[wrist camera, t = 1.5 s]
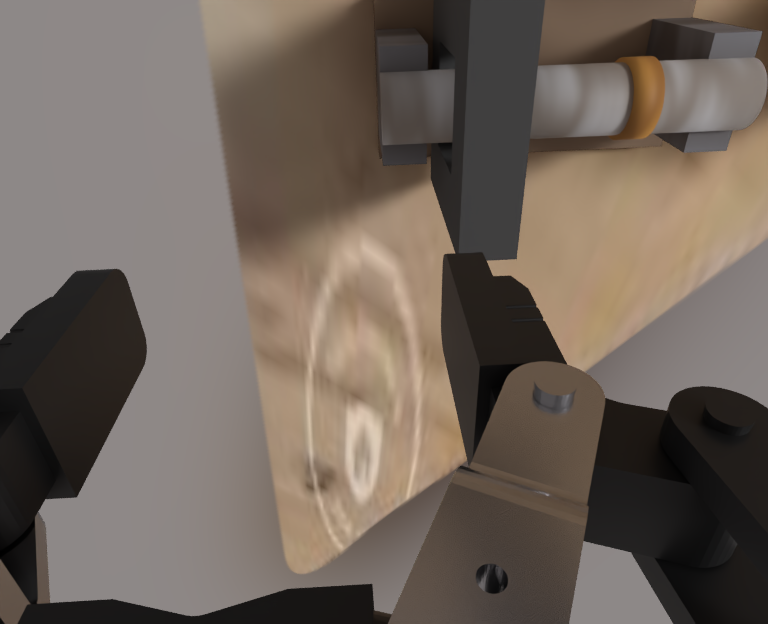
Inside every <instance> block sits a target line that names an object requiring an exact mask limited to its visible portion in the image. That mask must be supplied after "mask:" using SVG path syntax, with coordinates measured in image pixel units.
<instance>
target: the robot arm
mask: <svg viewBox="0 0 768 624" xmlns="http://www.w3.org/2000/svg"><path fill="white" fill-rule="evenodd" d="M441 335H442V346H443V352H444V357H445V361H446V366H447V370H448V375H449V379H450V384H451V388H452V393H453V397H454V402H455V406H456V411H457V415H458V420H459V424H460V429H461V433H462V438H463V443H464V447H465V452H466V456H467V461H468V465H469V468H467V467H464V466H460V467H459V468H458V469H457V470H456V472H455V473H454V475H453V477H452V479H451V482H450V484H449V486H448V488H447V490H446V493H445V495H444V498H443V500H442V502H441V504H440V506H439V509H438V511H437V513H436V515H435V518H434V520H433V522H432V525H431V527H430V529H429V532H428V534H427V536H426V538H425V541H424V543H423V545H422V547H421V550H420V552H419V554H418V556H417V559H416V561H415V563H414V565H413V568H412V570H411V572H410V574H409V577H408V579H407V581H406V584H405V586H404V588H403V591H402V593H401V595H400V597H399V599H398V602H397V604H396V606H395V609H394V611H393V613H392V614H387V613H383V612H379V611H375V610H374V601H373V588H372V584H365V585H364V584H363V585H347V586H331V587H313V588H297V589H286V590H283V591H280V592H277V593H273V594H270V595H267V596H264V597H260V598H257V599H254V600H251V601H247V602H244V603H241V604H238V605H234V606H231V607H228V608H225V609H221V610H218V611H215V612H212V613H208V614H205V615H200V616H185V615H181V614H177V613H172V612H168V611H163V610H159V609H154V608H150V607H145V606H141V605H136V604H131V603H127V602H123V601H118V600H113V599H111V600H93V601H77V602H59V603H50V593H49V576H48V559H47V541H46V527H45V523H44V521H43V519H42V517H41V515H40V514H39V512H38V511H39V509H40V508H41V506H42V504H43V502H44V501H45V499H54V498H74V497H77V496H78V494H79V492H80V490H81V488H82V486H83V484H84V482H85V480H86V478H87V476H88V474H89V472H90V470H91V468H92V467H93V465H94V463H95V461H96V459H97V457H98V455H99V453H100V451H101V449H102V447H103V445H104V443H105V441H106V439H107V437H108V435H109V433H110V431H111V429H112V427H113V425H114V424H115V422H116V420H117V418H118V416H119V414H120V412H121V410H122V408H123V406H124V404H125V402H126V400H127V398H128V396H129V394H130V392H131V390H132V388H133V386H134V384H135V382H136V381H137V379H138V376H139V375H140V373H141V371H142V369H143V367H144V364H145V360H146V353H147V345H146V338H145V334H144V331H143V328H142V325H141V321H140V318H139V315H138V312H137V309H136V306H135V303H134V300H133V297H132V293H131V290H130V287H129V284H128V281H127V279H126V277H125V275H124V273H123V272H122V271H121V270H119V269H106V270H85V271H76V272H75V273H74V274H73V275H72V276H71V277H70V278H69V279H68V280H67V281H66V282H65V284H64V285H63V286H62V287H61V288H60V289H59V290H58V292H57V293H56V294H55V295H54V296H53V297H50V298H48V299H47V300H45V301H43V302H42V303H40V304H39V305H37V306H35V307H34V308H32V309H31V310H29V311H27V312H26V313H25V314H24V315H23V316H22V317H21V318H20V319H19V320H18V322H17V323H16V324H15V325H14V326H13V327H12V328H11V329H10V333H6V335H5V336H4V337H3V338H2V339H1V340H0V624H569V620H570V614H571V608H572V603H573V597H574V591H575V586H576V580H577V574H578V568H579V563H580V557H581V551H582V546H583V541H586V542H590V543H594V544H598V545H603V546H607V547H611V548H615V549H620V550H624V551H628V552H631V553H632V555H633V557H634V558H635V560H636V561H637V563H638V565H639V567H640V568H641V570H642V572H643V573H644V575H645V577H646V579H647V580H648V582H649V584H650V585H651V587H652V588H653V590H654V592H655V594H656V595H657V597H658V599H659V600H660V602H661V604H662V605H663V607H664V609H665V610H666V612H667V614H668V615H669V617H670V619H671V620H672V622H673V624H768V408H766V407H764V406H763V405H762V404H760V403H759V402H757V401H755V400H753V399H751V398H749V397H747V396H745V395H742V394H739V393H737V392H734V391H730V390H727V389H722V388H716V387H705V386H701V387H692V388H687V389H684V390H682V391H680V392H678V393H677V394H675V395H674V396H673V398H672V399H671V401H670V404H669V407H668V410H667V411H664V410H658V409H653V408H647V407H641V406H635V405H629V404H624V403H620V402H616V401H613V400H609V399H607V398H605V395H604V392H603V390H602V388H601V386H600V385H599V384H598V383H597V382H596V381H595V380H594V379H593V378H592V377H591V376H590V375H588V374H587V373H585V372H583V371H581V370H580V369H577V368H575V367H572V366H570V365H567V363H566V361H565V359H564V357H563V355H562V353H561V351H560V350H559V348H558V346H557V344H556V342H555V340H554V338H553V336H552V334H551V332H550V330H549V328H548V326H547V324H546V322H545V321H543V317H542V315H541V313H540V311H539V309H538V308H536V303H535V301H534V299H533V297H532V295H531V293H530V291H529V289H528V288H527V287H525V286H524V285H523V284H521V283H520V282H518V281H517V280H516V279H514V278H513V277H512V276H493V275H492V273H491V270H490V268H489V266H488V263H487V261H486V259H485V256H484V254H483V253H482V252H476V253H455V254H445V255H444V258H443V274H442V308H441Z"/></svg>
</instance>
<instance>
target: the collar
mask: <svg viewBox="0 0 768 624" xmlns="http://www.w3.org/2000/svg"><path fill="white" fill-rule="evenodd" d="M544 7H545V0H434V5H433V68H432V70H441V69H455V84H454V112H453V139H452V142H447V143H431V181H432V184H433V187H434V190H435V193H436V196H437V199H438V202H439V205H440V208H441V211H442V214H443V217H444V220H445V223H446V226H447V229H448V232H449V235H450V238H451V241H452V244H453V247H454V250H455V253H476V252H482V253H483V254H484V256H485V259H486V260H507V259H517V250H518V241H519V232H520V223H521V214H522V205H523V196H524V187H525V178H526V169H527V160H528V151H529V142H530V133H531V124H532V115H533V106H534V97H535V88H536V79H537V70H538V61H539V52H540V43H541V34H542V25H543V16H544Z"/></svg>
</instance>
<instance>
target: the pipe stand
mask: <svg viewBox="0 0 768 624" xmlns="http://www.w3.org/2000/svg"><path fill="white" fill-rule="evenodd" d="M695 4H696V0H545V7H544V16H543V25H542V34H541V43H540V52H539V61H538V70H537V79H536V88H535V97H534V106H533V115H532V124H531V133H530V142H529V151H528V152H543V151H566V150H589V149H612V148H635V147H658V146H661V145H662V141H663V140H664V141H666V142H667V143H669V144H671V145H672V146H674V147H676V148H677V149H679V150H680V151H682V152H684V153H685V152H708V151H726V150H727V147H728V143H729V140H730V137H731V134H732V130H742V129H744V128H746V127H748V126H749V125H751V124H752V123H753V122H754V120H755V119H756V118H757V116H758V115H759V113H760V111H761V109H762V107H763V104H764V101H765V98H766V93H767V73H766V69H765V67H764V65H763V63H762V62H761V61H760V60H759V59H757V58H755V55H756V51H757V48H758V45H759V42H760V38H761V35H762V32H763V31H758V30H753V29H748V28H743V27H738V26H733V25H728V24H723V23H718V22H713V21H708V20H703V19H698V18H692V16H693V12H694V8H695ZM433 5H434V0H374V25H375V54H376V82H377V110H378V139H379V157H380V159H381V158H382V160H383V166H387V165H410V164H427V156H431V143H447V142H452V139H453V112H454V84H455V69H441V70H432V68H433Z"/></svg>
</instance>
